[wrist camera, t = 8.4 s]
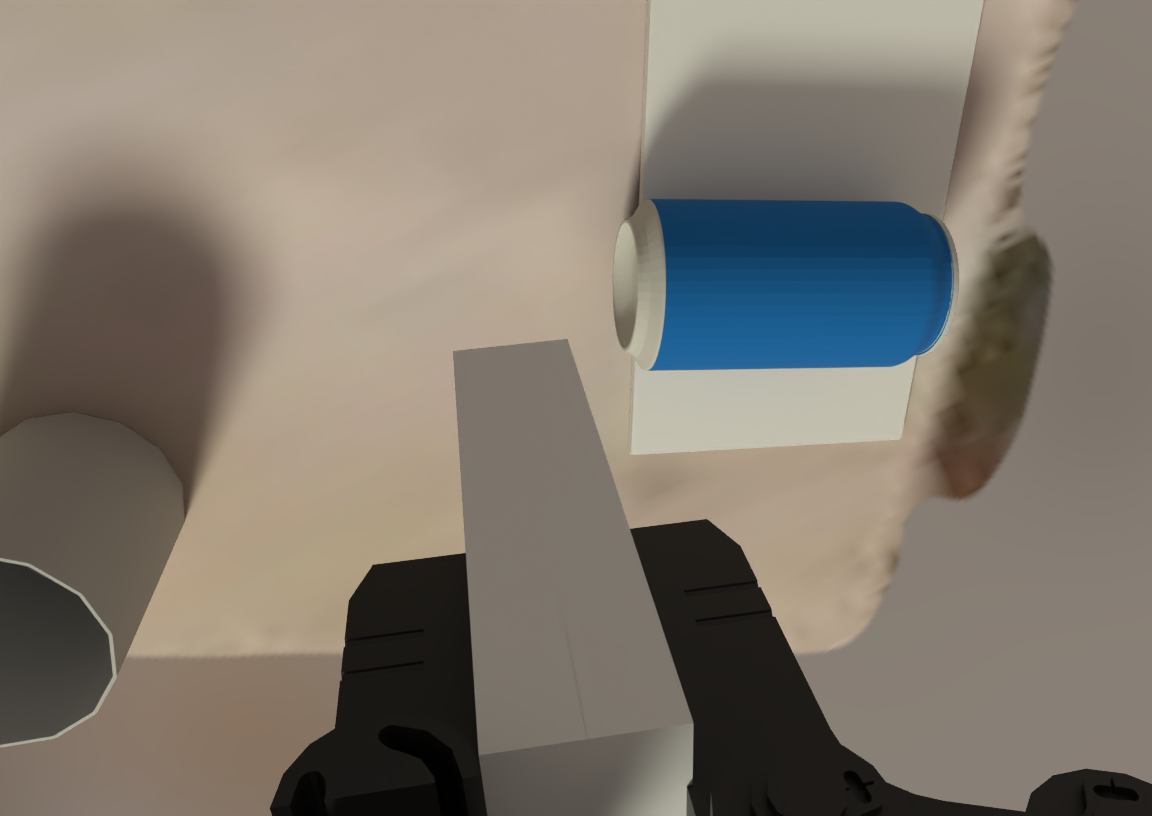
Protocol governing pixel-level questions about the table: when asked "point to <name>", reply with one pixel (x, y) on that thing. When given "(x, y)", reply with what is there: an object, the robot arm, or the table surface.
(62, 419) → the cup
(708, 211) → the beverage can
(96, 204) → the table surface
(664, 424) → the flat white box
